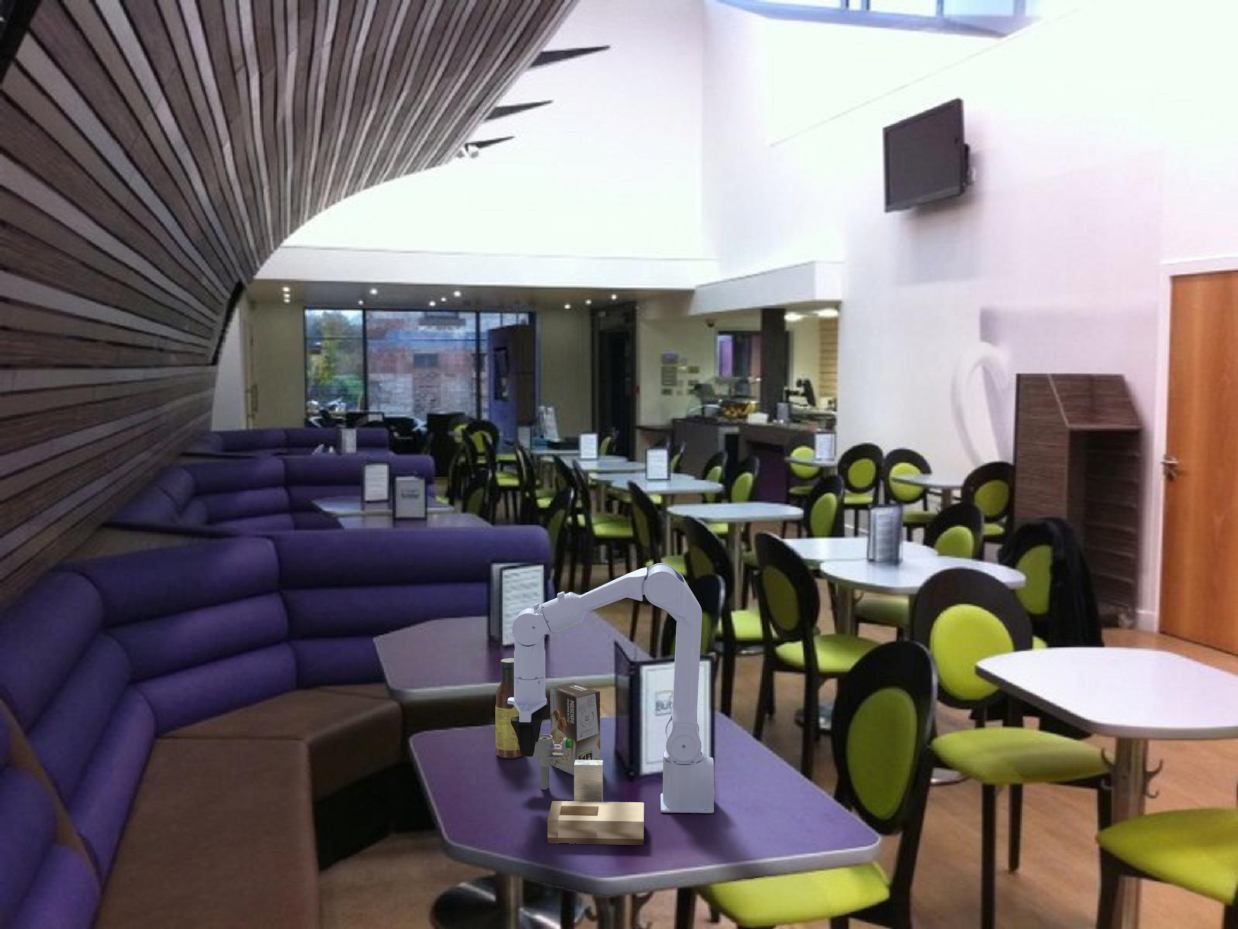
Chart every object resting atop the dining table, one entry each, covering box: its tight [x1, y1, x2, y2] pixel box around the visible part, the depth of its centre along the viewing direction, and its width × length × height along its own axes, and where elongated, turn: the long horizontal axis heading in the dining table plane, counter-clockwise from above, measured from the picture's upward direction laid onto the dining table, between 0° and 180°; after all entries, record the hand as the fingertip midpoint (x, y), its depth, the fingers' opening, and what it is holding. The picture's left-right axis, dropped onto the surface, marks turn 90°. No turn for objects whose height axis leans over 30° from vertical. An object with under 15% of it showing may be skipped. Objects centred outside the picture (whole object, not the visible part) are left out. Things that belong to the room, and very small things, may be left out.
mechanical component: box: [518, 733, 572, 791], centre depth 196 cm, size 3×10×10 cm, turn 78°
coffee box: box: [549, 681, 601, 776], centre depth 206 cm, size 9×6×16 cm
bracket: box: [573, 759, 604, 802], centre depth 185 cm, size 5×2×9 cm, turn 88°
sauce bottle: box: [494, 657, 522, 759], centre depth 214 cm, size 6×6×20 cm
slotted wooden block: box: [547, 800, 645, 846], centre depth 176 cm, size 16×8×4 cm, turn 88°
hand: (529, 748), depth 189 cm, fingers open, 7 cm apart
